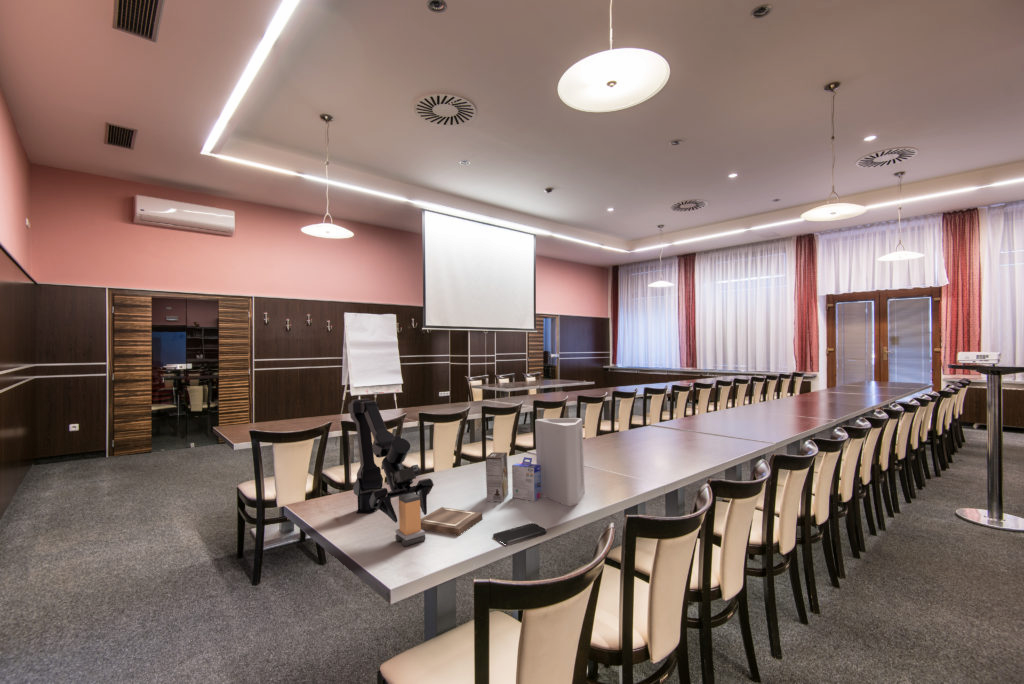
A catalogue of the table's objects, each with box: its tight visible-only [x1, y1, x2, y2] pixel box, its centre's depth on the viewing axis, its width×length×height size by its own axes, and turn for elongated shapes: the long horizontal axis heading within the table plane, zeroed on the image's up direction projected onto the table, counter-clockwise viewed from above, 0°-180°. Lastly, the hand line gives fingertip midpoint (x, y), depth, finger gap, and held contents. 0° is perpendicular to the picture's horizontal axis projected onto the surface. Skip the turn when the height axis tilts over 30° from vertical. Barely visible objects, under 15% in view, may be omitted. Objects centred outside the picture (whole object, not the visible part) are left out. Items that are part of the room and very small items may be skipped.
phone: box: [492, 522, 548, 546], centre depth 134 cm, size 8×1×15 cm
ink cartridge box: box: [511, 456, 542, 502], centre depth 168 cm, size 10×6×14 cm, turn 58°
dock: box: [421, 506, 483, 536], centre depth 144 cm, size 16×14×2 cm
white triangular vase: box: [534, 417, 586, 507], centre depth 169 cm, size 19×15×28 cm
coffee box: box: [485, 451, 509, 503], centre depth 169 cm, size 9×6×16 cm
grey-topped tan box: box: [394, 493, 426, 547], centre depth 132 cm, size 7×6×13 cm
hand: (411, 517), depth 131 cm, fingers open, 9 cm apart
